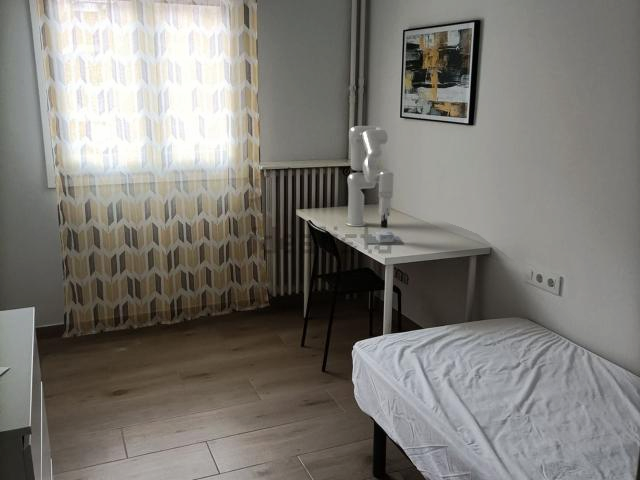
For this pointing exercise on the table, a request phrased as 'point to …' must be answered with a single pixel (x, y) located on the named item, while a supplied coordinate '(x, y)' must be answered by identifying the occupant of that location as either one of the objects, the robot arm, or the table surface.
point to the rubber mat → (374, 241)
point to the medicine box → (384, 236)
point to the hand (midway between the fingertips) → (384, 227)
